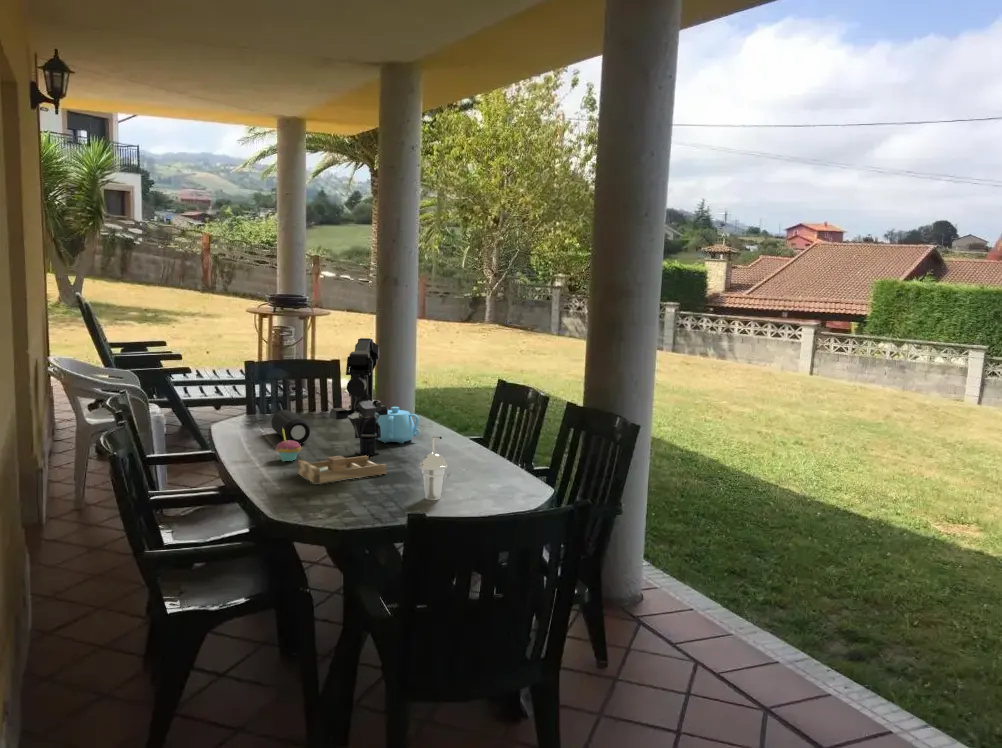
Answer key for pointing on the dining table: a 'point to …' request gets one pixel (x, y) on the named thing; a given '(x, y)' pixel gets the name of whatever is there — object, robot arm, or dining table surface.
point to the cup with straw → (433, 473)
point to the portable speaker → (290, 426)
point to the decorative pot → (397, 426)
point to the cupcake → (288, 449)
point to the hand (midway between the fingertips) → (359, 437)
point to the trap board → (321, 473)
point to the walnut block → (336, 463)
